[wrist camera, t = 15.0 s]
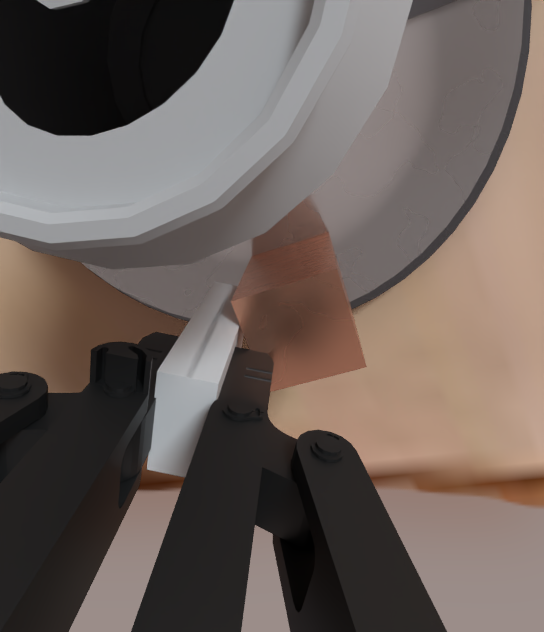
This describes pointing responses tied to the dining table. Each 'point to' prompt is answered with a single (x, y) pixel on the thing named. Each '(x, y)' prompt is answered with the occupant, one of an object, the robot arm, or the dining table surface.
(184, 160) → the can
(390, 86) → the platter
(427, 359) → the dining table surface
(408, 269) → the turntable base
